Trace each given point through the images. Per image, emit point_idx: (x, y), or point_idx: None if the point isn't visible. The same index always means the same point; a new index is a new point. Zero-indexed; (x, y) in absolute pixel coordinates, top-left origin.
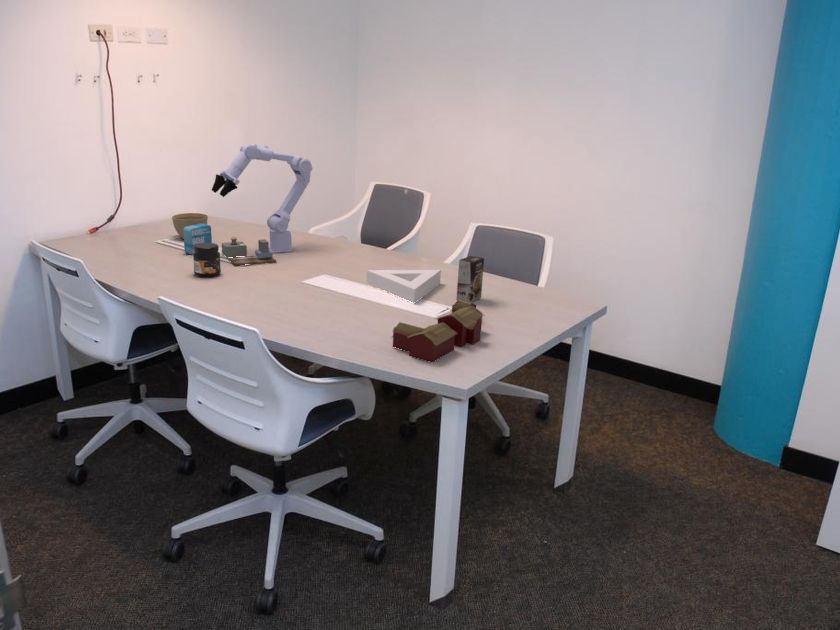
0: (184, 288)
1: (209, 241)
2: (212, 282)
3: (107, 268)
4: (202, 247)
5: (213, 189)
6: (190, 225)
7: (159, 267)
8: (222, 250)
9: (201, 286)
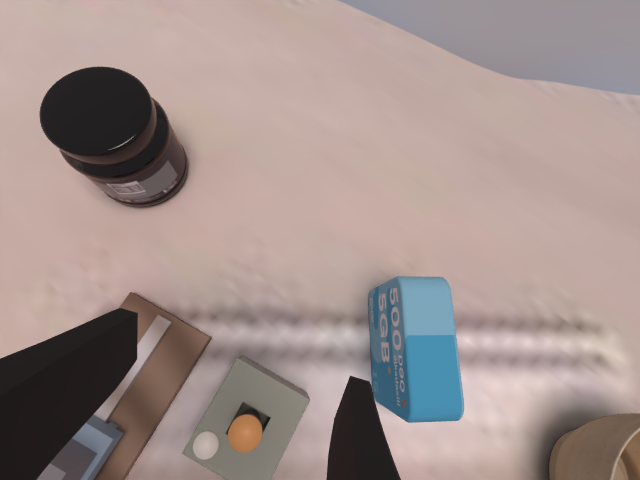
0: (102, 47)
1: (383, 391)
2: None
3: (408, 57)
4: (84, 78)
5: (345, 400)
6: (592, 450)
7: (320, 136)
8: (299, 389)
9: None
